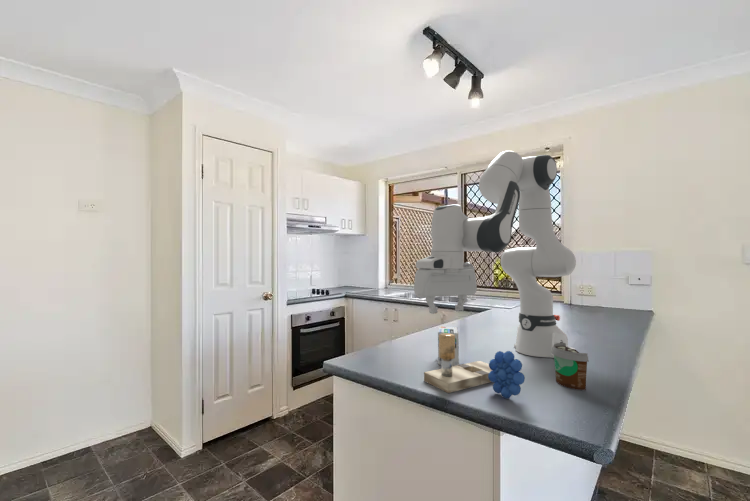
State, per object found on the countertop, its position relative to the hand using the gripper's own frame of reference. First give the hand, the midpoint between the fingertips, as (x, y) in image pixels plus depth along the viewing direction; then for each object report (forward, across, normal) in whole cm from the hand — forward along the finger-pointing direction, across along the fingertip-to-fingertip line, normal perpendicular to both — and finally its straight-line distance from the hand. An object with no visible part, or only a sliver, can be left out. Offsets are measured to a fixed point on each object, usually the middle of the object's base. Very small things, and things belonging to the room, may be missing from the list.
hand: (446, 312), depth 97 cm
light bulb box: (+20, -15, -16) cm, 30 cm away
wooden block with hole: (+20, -7, 0) cm, 21 cm away
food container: (+20, -29, +16) cm, 39 cm away
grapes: (+20, -8, +14) cm, 26 cm away
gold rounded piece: (+17, 0, 0) cm, 17 cm away
